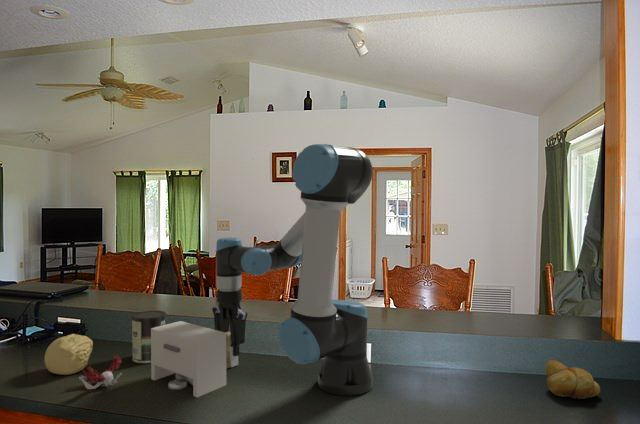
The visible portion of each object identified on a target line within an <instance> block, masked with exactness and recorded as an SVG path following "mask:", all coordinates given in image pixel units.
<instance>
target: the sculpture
mask: <svg viewBox="0 0 640 424" xmlns="http://www.w3.org/2000/svg"><path fill="white" fill-rule="evenodd" d="M93 344H94V342H93V340H92V339H91V338H89V337H88V336H86V335H81V334H76V333H71V334H68V335H66V336H65V335H64V336H61V337H58V338H56V339H55V340H53V341H52V342H51V343H50V344H49V345H48V347H47V348H46V351H45V353H44V365H45V367H46V368H47V370H48V371H49V372H50V373H52V374H54V375H61V376H62V375H63V376H68V375H69V376H70V375H73V374H76V373H78V372H80V371H82V370H84V369H85V368H86V366H87V365H88V362H89V358H90V355H91V354H92V352H93Z"/></svg>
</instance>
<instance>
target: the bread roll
mask: <svg viewBox="0 0 640 424" xmlns="http://www.w3.org/2000/svg"><path fill="white" fill-rule="evenodd" d="M545 374H546V376H547V378H546V382H547V387H548V389H549V391H550V392H551V393H552V394H553V395H555V396H557V397H560V396H561V397H562V398H563V397H564V398H565V397H566V398H568V397H570V398H573V399H576V398H578V399H579V400H580V399H581V400H582V399H584V400H585V399H587V398H594V397H596V396H598V395H599V394H600V393H601V387H600V385H599V383H597V382H596V381H595V380H594V378H593V376H592V375H591V373H590V372H588V371H587V370H586V369H583V368H580V367H576V366H575V367H574V366H573V367H568V366H567V365H565V364H564V363H561V362H560V361H558V360H556V359H548V361H547V364H546V366H545Z"/></svg>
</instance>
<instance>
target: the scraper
mask: <svg viewBox="0 0 640 424" xmlns="http://www.w3.org/2000/svg"><path fill="white" fill-rule="evenodd" d="M225 333H226V370H227V369H229V368H231V367H230V345H231V344H232V342H231V333H230V330H229V331H228V332H225ZM176 379H185V380H187V385H191V386H193V379H192V378H189V377H186V376H184V375H181V374H178V373H175V380H176Z"/></svg>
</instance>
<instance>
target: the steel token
mask: <svg viewBox="0 0 640 424" xmlns="http://www.w3.org/2000/svg"><path fill="white" fill-rule="evenodd" d="M167 383H168V384H167V385H168V389H169V390H171V391H178V390H179V391H180V390H183V389H186V388H187V387H188V383H187V380H185V379H176V378H175V379H173V380H170V381H169V382H167Z"/></svg>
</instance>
